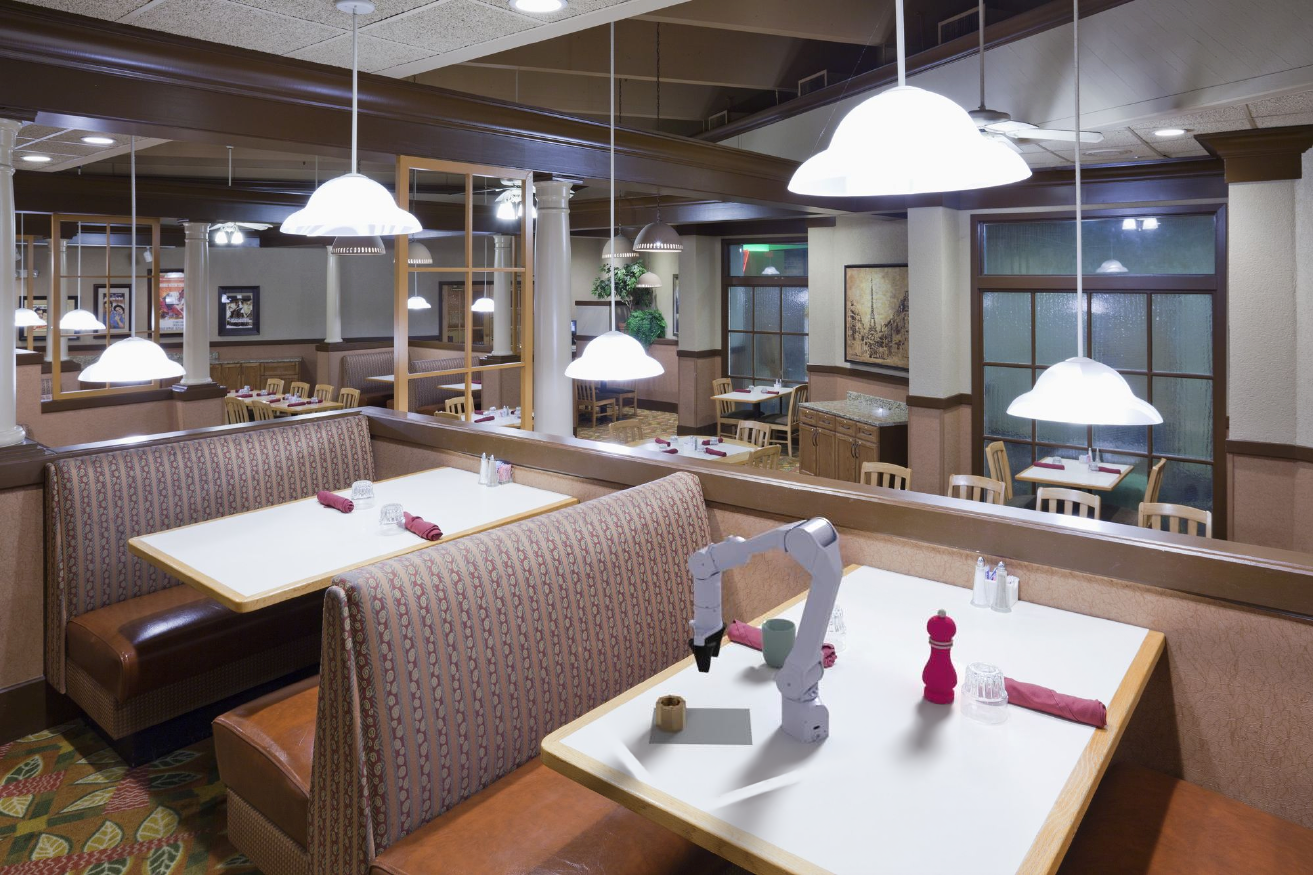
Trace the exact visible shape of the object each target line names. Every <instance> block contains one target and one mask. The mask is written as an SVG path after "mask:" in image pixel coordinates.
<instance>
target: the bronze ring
mask: <svg viewBox="0 0 1313 875" xmlns="http://www.w3.org/2000/svg"><path fill="white" fill-rule="evenodd" d="M686 701H687V700H685V699H684V698H683V697H682V696H679V695H672V694H668V695H664V696H661V697H658V699H657V700H656V702H655V708H656V726H657V727H658V728H659V729H660V730H661V731H664V732H670V733H674V732H677V731H681V730H683V729H684V727H685V725H686V708H687V702H686ZM668 706H674V707H668Z"/></svg>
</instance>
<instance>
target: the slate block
mask: <svg viewBox="0 0 1313 875" xmlns="http://www.w3.org/2000/svg"><path fill="white" fill-rule="evenodd" d="M650 726H651V727H650V734H649V740H648V744H652V745H653V744H658V745H659V744H661V745H662V744H664V745H665V744H666V745H667V744H668V745H675V744H676V745H731V746H732V745H740V746H741V745H742V746H743V745H748V746H750V745H751V746H753V734H752V721H751V709H750V708H731V707H730V708H729V707H728V708H726V707H725V708H724V707H723V708H722V707H721V708H720V707H719V708H714V707H713V708H712V707H708V708H707V707H699V708H698V707H686V725H685V727H684V729H683V730H681V731H677V732H674V733H670V732H664V731H661V730H660V729H659V728H658V727H657V726H656V707H654V708H653V714H652V720H651V725H650Z"/></svg>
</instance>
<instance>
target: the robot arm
mask: <svg viewBox="0 0 1313 875" xmlns="http://www.w3.org/2000/svg"><path fill="white" fill-rule="evenodd" d="M839 543H840V534H839V533H838V531H837V529H835V527H834V526H833V524H832V523H831V521H830V520H829V519H826V518H825V517H821V516H817V517H816V516H815V517H812V518H811V519H809V520H808V519H805V520H799V521H795V522H792V523H787V524H785V525H781V526H779V527H776V528H774V529H770V530H768V531H767V532H766V531H765V532H763V533H761V534H759V535H756V536H753V537H751V538H748V539H745V538H744V537H741V536H735V537H734V535H733V534H731V535H729V536H727V537H724V541H723V540H722V541H721V542H718V543H716V544H715V543H714V542H711V543H709V544H707V546H705V547H703V548H701V549H699V550H697V551H695V552H694V553H692V554H691V555H690V556H689V557H688V560H687V566H688V571H689V573H690V574H691V575H692V576H693V604H694V605H693V608H694V609H693V610H694V613H693V616H694V618H693V619H690V620H689V622H688V626H690V627H693V631H694V636H693V637H690V638H689V639H688V642H687V643H688V647H689V648H690V650H691V652H692V655H693V656H694V659H695V663H696V667H697V669H698V670H697V671H698V672H699V673H705V674H709V672H710V669H711V663H712V658H719V655H720V652H721V646H722V640H723V637H724V633H725V632H726V630H727V627H728V623H727V622H723V620H722V577H723V575H722V573H723V572H725V571H728V570H730V569H735V568H737V567H740V566H743V565H746V564H748V563H749V561H750V560H751V558H752V556H753V555H756V554H759V553H764V552H767V551H770V550H774V549H776V548H777V549H779V550H780V551H781V552H782V553H783V554H787V553H788V554H789V555H790V556H791V557H792V558H793V559H794V560H795V561H796V562H797V563H798V564H799V565H800V566H801V567H802V568H803V569H804V570H805V571H807V572H808V573H809V574H810V576H811V577H812V579H811V582H810V587H809V590H808V593H807V597H806V600H805V603H804V604H805V605H804V608H803V611H802V615H801V619H800V623H799V625H798V629H797V632H796V640H795V643H794V647H793V649H792V650H791V652H790V654H789V655H788V657H787V658H786V660H785V663H784V666H783V668H780V669H779V670H778V671H777V673H776V675H775V678H774V679H775V686H776V688H777V690H778V692H779V693H780V694H781V729H782V731H784V732H785V733H786V734H788V735H791V736H793V737H794V738H795V739H797V740H798V741H800V742H801V743H803V744H804V745H805V744H809V743H810V742H814V741H815V742H817V741H820V740H821V739H823V738H828V737H829V735H830V729H829V728H830V727H829V726H830V725H829V724H830V722H829V721H830V720H829V719H830V713H829V710H828V708H827V706H826V705H825V704H824V703H823V702H822V700H821V698H820V695H819V681H821V680H822V679H823V677H824V674H825V668H824V657H825V654H824V651H822V648H823V645H824V640H825V637H826V634H827V631H828V628H829V624H830V620H831V616H832V613H833V610H834V606H835V602H836V600H837V597H838V592H839V589H840V586H841V583H842V579H843V575H844V566H843V563H842V558H841V553H840V547H839Z"/></svg>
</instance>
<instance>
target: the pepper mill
mask: <svg viewBox="0 0 1313 875" xmlns="http://www.w3.org/2000/svg"><path fill="white" fill-rule="evenodd" d="M926 631H927V633H928V635H929V636H928V644H929V646H930V653H929V654H930V655H929V658H928V660H927V662H926V663H925V666H924V667H923V670H922V672H921V673H922V674H921V680H922V682H923V684H924V685H925V686H924V687H923V696H924V698H925V699H926V700H927V701H929V702H931V703H934V704H941V705H945V704H946V705H947V704H951V703H952V702H954V701H955V690H954V688H956V686H957V684H958V674H957V672H956V669H955V666H954V664H953V662H952V658H951V650H952V647H953V646H954V639H953V638H954V636H956V634H957V625H956V623H955V620H953V619H952V618H951V617H950V616H947V611H946V610H945V609H943V608H941V609H938V610H937V614H936V615H933V616H931V617H930V618H928V620H927V623H926Z"/></svg>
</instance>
